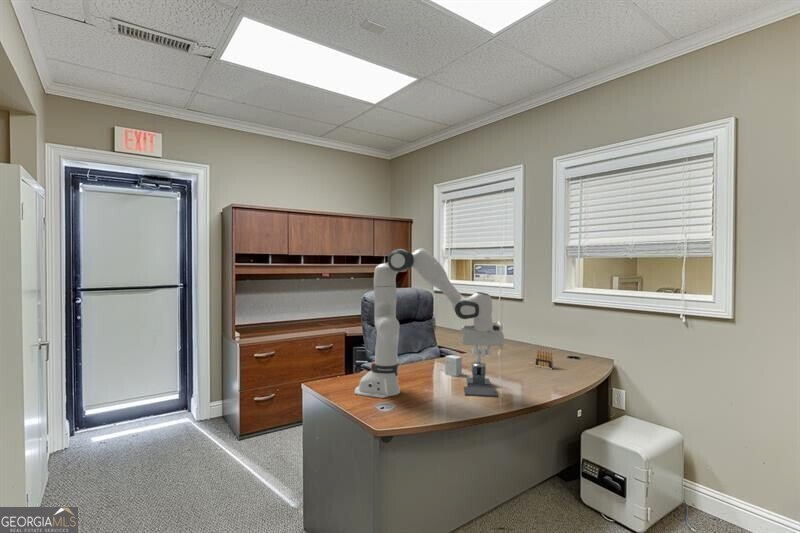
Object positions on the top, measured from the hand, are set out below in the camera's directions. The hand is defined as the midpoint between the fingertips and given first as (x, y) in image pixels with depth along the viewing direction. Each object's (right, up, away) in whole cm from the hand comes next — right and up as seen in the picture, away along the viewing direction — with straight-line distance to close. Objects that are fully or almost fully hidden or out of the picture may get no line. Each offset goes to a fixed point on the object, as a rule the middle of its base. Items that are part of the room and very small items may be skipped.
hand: (482, 354), depth 195 cm
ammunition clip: (+51, -21, +59) cm, 80 cm away
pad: (0, -21, +7) cm, 22 cm away
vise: (+2, -21, +21) cm, 29 cm away
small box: (-9, -21, +39) cm, 45 cm away
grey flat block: (+1, -1, +5) cm, 5 cm away
